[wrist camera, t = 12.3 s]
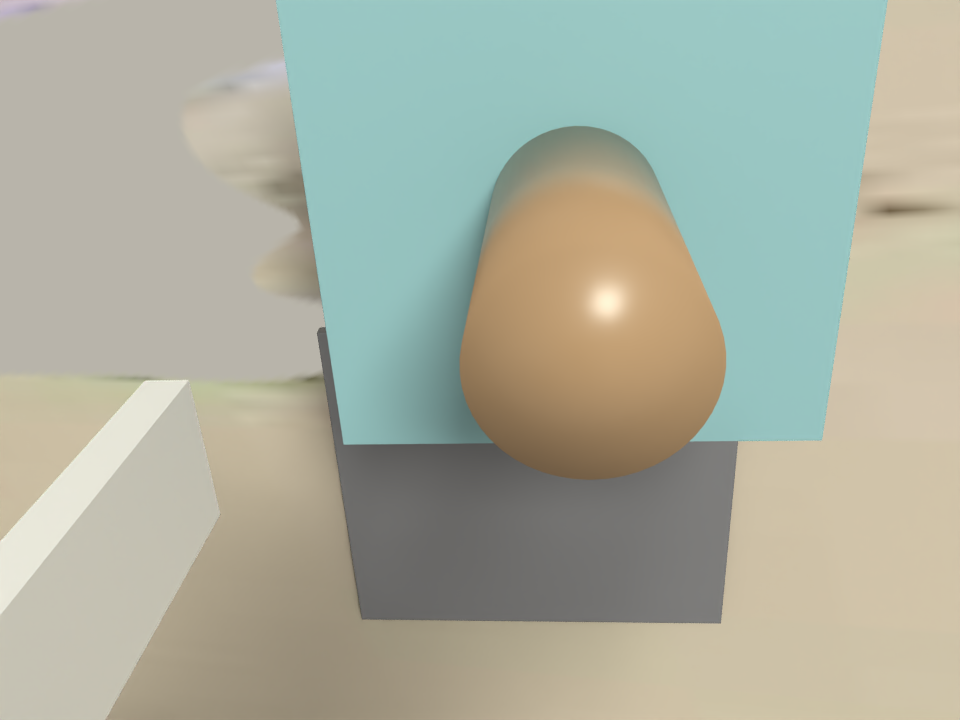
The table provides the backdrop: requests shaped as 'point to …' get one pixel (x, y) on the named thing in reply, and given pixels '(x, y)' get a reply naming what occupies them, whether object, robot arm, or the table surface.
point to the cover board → (555, 65)
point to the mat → (532, 533)
